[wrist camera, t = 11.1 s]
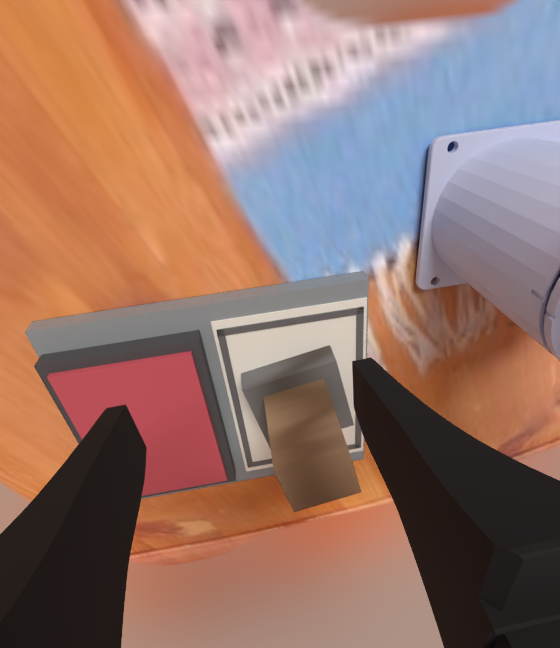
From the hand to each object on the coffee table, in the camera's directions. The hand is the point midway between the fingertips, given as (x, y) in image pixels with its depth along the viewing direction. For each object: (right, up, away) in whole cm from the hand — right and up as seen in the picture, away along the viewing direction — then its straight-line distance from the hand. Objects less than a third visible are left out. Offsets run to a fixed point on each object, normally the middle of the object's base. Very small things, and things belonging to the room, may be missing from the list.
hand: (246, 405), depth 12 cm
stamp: (+2, -2, +12) cm, 12 cm away
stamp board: (-2, -2, +13) cm, 13 cm away
